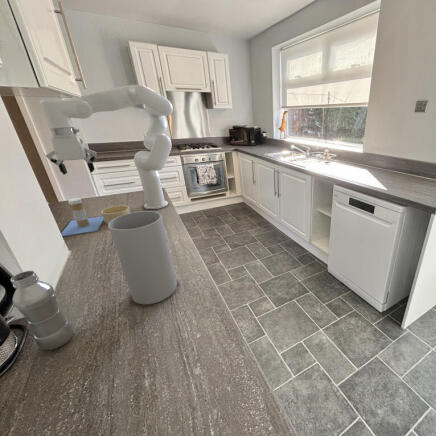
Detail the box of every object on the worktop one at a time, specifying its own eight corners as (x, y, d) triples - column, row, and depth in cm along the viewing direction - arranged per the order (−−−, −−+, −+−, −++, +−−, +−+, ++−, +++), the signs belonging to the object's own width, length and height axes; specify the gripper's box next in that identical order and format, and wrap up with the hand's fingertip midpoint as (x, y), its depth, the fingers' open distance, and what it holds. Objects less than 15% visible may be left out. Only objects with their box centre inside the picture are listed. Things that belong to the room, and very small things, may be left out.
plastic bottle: (35, 358, 55) (-9, 289, 47) (48, 335, 60) (11, 270, 52) (70, 348, 57) (34, 281, 49) (80, 327, 63) (49, 263, 55)
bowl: (107, 218, 125) (103, 207, 123) (133, 214, 130) (130, 204, 127) (102, 226, 116) (98, 215, 113) (130, 222, 120) (127, 211, 118)
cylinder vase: (149, 311, 68) (125, 234, 58) (123, 296, 73) (97, 223, 63) (185, 286, 78) (171, 216, 68) (161, 274, 83) (143, 208, 73)
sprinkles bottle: (81, 223, 118) (71, 197, 112) (92, 223, 118) (82, 197, 113) (75, 227, 114) (65, 201, 108) (86, 227, 114) (76, 200, 109)
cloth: (71, 221, 121) (71, 220, 120) (105, 216, 126) (105, 216, 126) (59, 237, 106) (58, 236, 106) (97, 231, 112) (97, 230, 112)
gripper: (91, 130, 106) (104, 168, 114) (40, 132, 99) (57, 172, 107) (86, 132, 100) (100, 172, 107) (32, 134, 93) (50, 176, 101)
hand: (79, 172), depth 107 cm, fingers open, 9 cm apart
